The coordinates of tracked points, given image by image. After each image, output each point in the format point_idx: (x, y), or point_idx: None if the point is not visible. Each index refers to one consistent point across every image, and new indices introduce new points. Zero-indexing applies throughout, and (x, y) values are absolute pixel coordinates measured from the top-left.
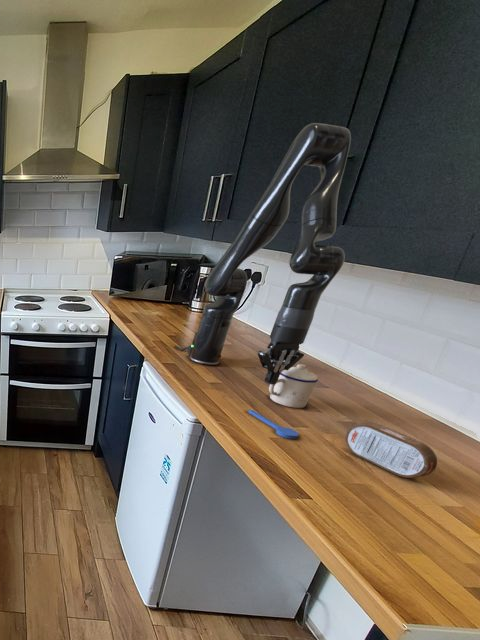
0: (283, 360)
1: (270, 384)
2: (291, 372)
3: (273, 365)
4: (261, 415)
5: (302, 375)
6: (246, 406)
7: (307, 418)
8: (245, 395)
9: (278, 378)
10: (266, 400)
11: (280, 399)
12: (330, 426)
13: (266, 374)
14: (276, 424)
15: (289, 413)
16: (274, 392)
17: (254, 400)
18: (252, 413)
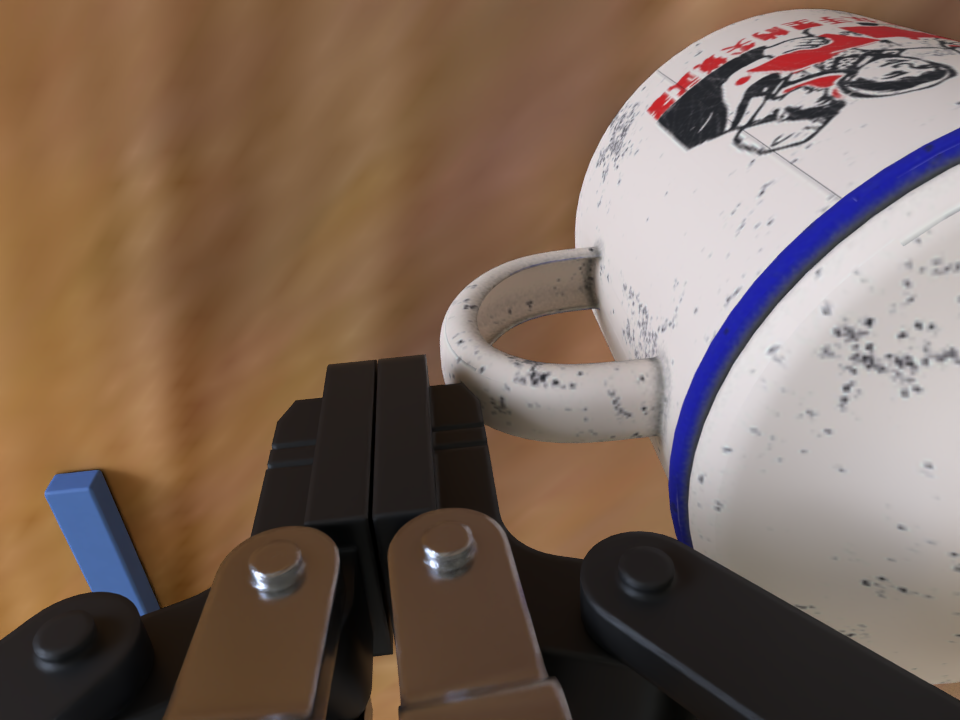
0: (746, 715)
1: (444, 354)
2: (817, 548)
3: (393, 613)
4: (124, 581)
5: (882, 652)
6: (117, 344)
7: (608, 535)
8: (301, 6)
9: (691, 285)
10: (511, 175)
11: (593, 310)
12: None
13: (265, 486)
14: None
15: (516, 464)
16: (574, 256)
17: (334, 179)
18: (67, 528)
